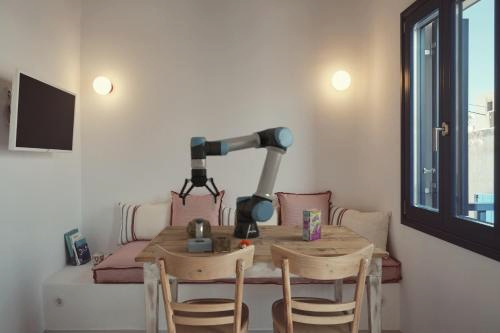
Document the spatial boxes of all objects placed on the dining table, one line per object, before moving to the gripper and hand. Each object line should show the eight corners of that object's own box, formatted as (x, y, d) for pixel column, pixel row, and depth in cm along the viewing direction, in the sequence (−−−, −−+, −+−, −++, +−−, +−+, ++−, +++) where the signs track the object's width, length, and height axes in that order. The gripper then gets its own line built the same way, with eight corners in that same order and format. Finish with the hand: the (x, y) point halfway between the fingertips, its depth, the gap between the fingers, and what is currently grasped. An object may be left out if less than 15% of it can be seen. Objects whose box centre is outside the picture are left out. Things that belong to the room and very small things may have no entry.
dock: (209, 245, 175) (209, 237, 175) (212, 251, 164) (212, 243, 164) (187, 247, 172) (187, 239, 172) (189, 252, 162) (189, 244, 162)
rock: (214, 239, 194) (210, 222, 193) (189, 246, 192) (185, 229, 190) (211, 228, 214) (207, 213, 212) (189, 234, 212) (185, 219, 210)
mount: (227, 247, 171) (227, 235, 171) (230, 251, 163) (230, 239, 163) (211, 248, 169) (211, 236, 169) (214, 253, 161) (214, 240, 161)
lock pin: (203, 247, 171) (203, 218, 171) (204, 250, 167) (204, 219, 166) (194, 248, 170) (194, 218, 170) (195, 250, 166) (195, 220, 165)
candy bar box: (309, 241, 182) (309, 211, 182) (302, 240, 186) (302, 210, 186) (321, 238, 190) (321, 209, 190) (314, 236, 194) (314, 208, 194)
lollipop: (257, 249, 168) (257, 225, 168) (238, 249, 167) (237, 225, 167) (256, 246, 174) (255, 222, 174) (237, 246, 173) (237, 223, 173)
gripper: (173, 169, 161) (174, 213, 161) (225, 167, 167) (226, 210, 168) (172, 168, 168) (173, 211, 169) (222, 167, 174) (223, 208, 175)
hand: (199, 211), depth 168 cm, fingers open, 13 cm apart
